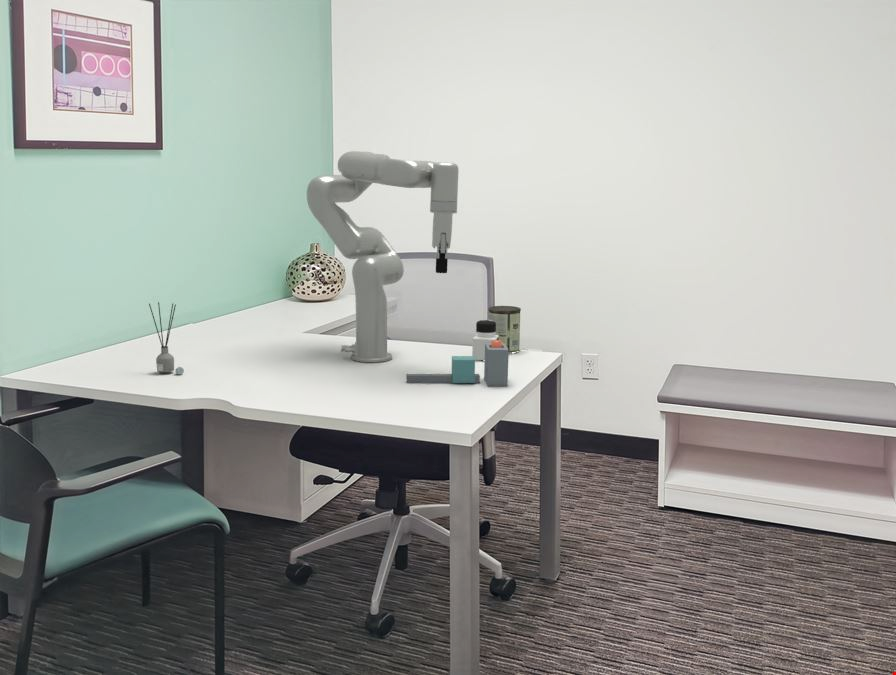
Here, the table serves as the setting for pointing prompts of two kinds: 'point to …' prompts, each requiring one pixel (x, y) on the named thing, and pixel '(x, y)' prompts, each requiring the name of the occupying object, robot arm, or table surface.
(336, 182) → the robot arm
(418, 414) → the table surface
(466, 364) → the block
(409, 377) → the rail
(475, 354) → the medicine bottle
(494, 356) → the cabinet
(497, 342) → the plunger
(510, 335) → the coffee can
